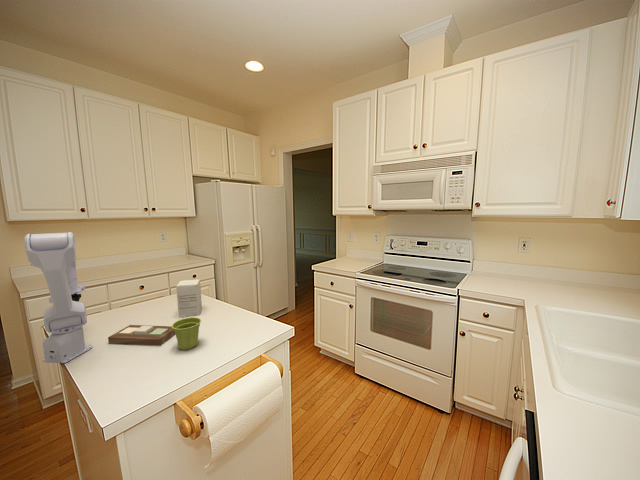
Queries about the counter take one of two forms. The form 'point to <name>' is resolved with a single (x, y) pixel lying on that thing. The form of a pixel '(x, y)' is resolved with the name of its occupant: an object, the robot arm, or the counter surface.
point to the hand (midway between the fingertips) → (71, 314)
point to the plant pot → (187, 332)
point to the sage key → (158, 332)
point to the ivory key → (143, 330)
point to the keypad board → (142, 337)
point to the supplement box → (189, 298)
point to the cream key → (128, 331)
